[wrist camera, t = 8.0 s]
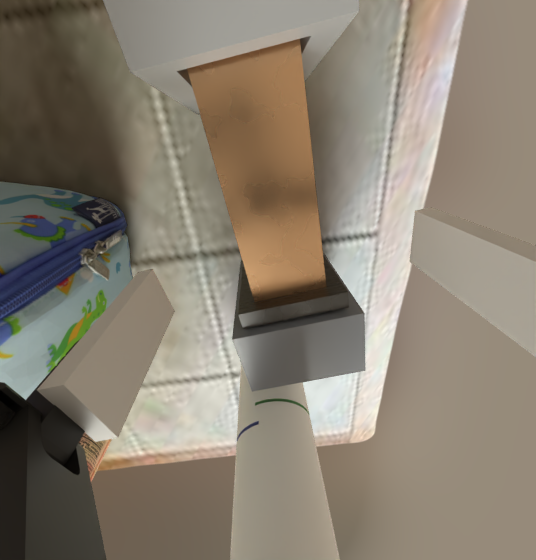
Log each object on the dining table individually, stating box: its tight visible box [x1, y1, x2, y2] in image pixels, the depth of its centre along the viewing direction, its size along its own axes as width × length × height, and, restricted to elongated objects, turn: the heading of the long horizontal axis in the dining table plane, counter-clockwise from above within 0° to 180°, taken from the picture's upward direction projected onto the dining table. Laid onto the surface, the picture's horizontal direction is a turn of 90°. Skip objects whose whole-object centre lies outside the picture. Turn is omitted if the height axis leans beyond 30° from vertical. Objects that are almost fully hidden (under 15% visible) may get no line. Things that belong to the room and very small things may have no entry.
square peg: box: [187, 39, 349, 329], centre depth 16 cm, size 21×7×7 cm, turn 12°
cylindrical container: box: [230, 364, 340, 560], centre depth 22 cm, size 7×7×25 cm
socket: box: [232, 253, 365, 392], centre depth 22 cm, size 6×9×13 cm, turn 102°
